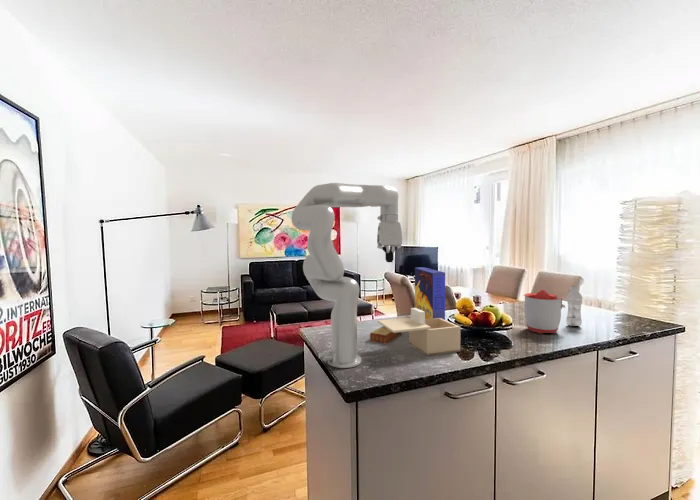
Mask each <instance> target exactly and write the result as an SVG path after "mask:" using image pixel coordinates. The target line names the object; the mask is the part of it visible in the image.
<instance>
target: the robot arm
mask: <svg viewBox="0 0 700 500" xmlns="http://www.w3.org/2000/svg"><path fill="white" fill-rule="evenodd" d="M367 207H372V208H373V207H375V208H377V207H380V208H379V209H380V211H379V212H380V215H379V216H377V220H378V221H379V223H378V227H377V235H376V237H377V239H376V242H377V243H376V244H377V248H378V249H380V250H382V251H383V252H384V254H385V256H384V257H385V259H384V260H385V261H386V262H387V263H393V261H394V253H395V252H396V250H398V249H401V248H402V245H403V232H402V225H401V222H399V191H398V190H397V189H396V188H395V187H394V186H391V185H378V184H377V185H376V184H371V185H369V184H353V183H344V182H343V183H340V182H329V183H322V184H317V185H314V186H313V187H312V188H310V190H309V191H308V192H307V193H306V194H305V195H304V197H303V198H302V199H301V200H300V201H299V203H297V205H296V206H295V208H293V211H292V213H291V217H290V218H291V219H290V220H291V223H292V225H293V227H295V229H298V230H300V231H309V233H308V238H307V242H306V247H307V252H308V253H309V254H308V255H307V256H306V257H305V258H304V259H303V264H302V271H303V275H304V276H305V278H306V280H307V281H308V283H309V284H310V286H311V288H312V289H313V292H314V293H315V294H316V295H317V297H319V298H320V299H322V300H324V301H329V302H334V303H335V304H334V306H333V308H332V309H331V314H330V323H331V324H330V325H331V326H330V331H331V333H330V336H331V337H330V339H331V340H330V341H331V342H330V347H331V348H329V350H328V351H326V352H319V353H318V359H323V360H324V361H326V360H327V364H328V365H329V366H331V367H333V368H338V369H351V368H355V367H357V366H359V365H360V364H361V363H362V356H360V355H358V319H357V318H358V301H359V297H360V285H359V283H358V281H356V280H355V279H353V278H352V277H348V276H344V274H345V267H344V263H343V262H342V259H341V258H340V256H339V253H338V252H337V251H336V249H335V247H334V245H333V242H332V237H331V235H332V231H333V227H334V223H335V219H336V218H335V217H336V216H335V212H334V210H333V208H367ZM377 248H376V249H377Z"/></svg>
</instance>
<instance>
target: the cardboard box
mask: <svg viewBox="0 0 700 500" xmlns="http://www.w3.org/2000/svg"><path fill="white" fill-rule="evenodd" d="M425 324H426V325H428V326H430V327H431V329H425V330H416V331H408V344H409V345H410V346H411V347H413V348H414V349H416V350H418V351H419V352H421V353H422V354H423V355H425V356H435V355H442V354H443V355H444V354H450V353H452V354H453V353H457V352H458V353H459V352H461V326H460V325H458V324H455V323H453V322H450V321H449V320H446V319H445V320H444V319H441V318H432V319H425Z"/></svg>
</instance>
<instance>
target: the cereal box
mask: <svg viewBox="0 0 700 500" xmlns="http://www.w3.org/2000/svg"><path fill="white" fill-rule="evenodd" d="M414 308H417V309H419V310H422V311H424V312H425V319H432V318H441V319H444V320H446V272H444V271H441V270H436V269H432V268H428V267H424V266H423V267H422V266H421V267H415V268H414Z"/></svg>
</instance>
